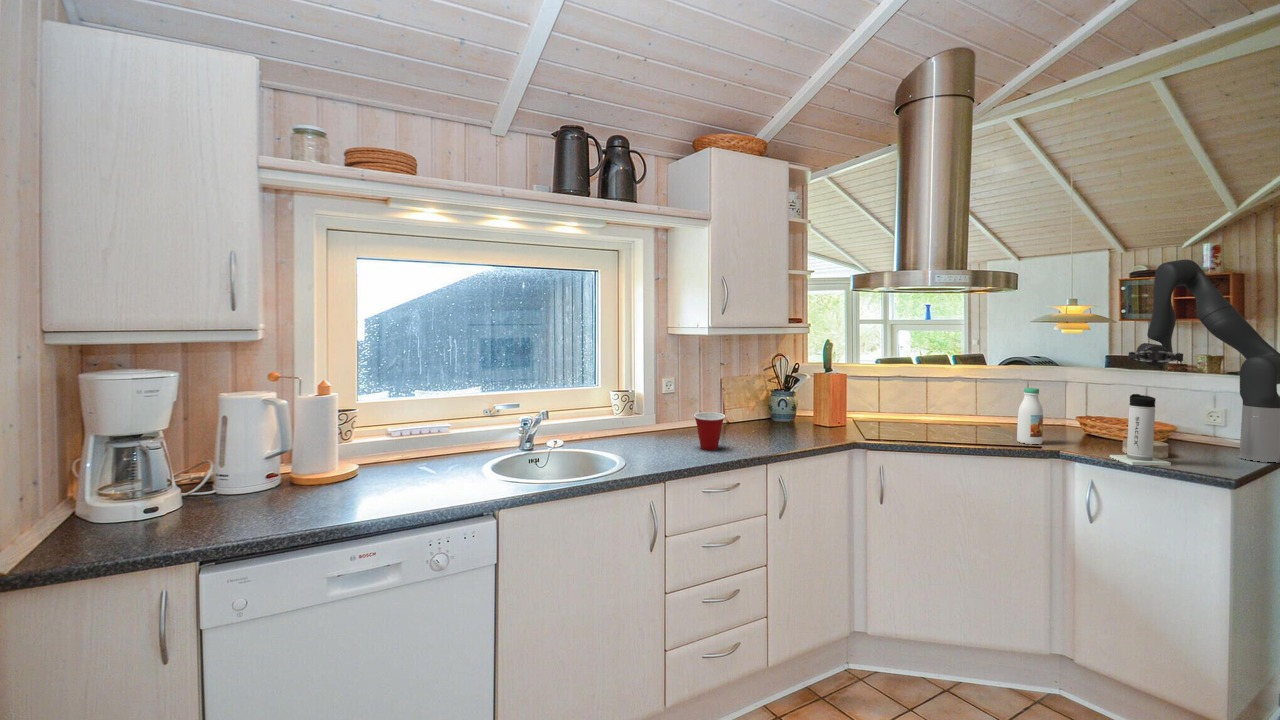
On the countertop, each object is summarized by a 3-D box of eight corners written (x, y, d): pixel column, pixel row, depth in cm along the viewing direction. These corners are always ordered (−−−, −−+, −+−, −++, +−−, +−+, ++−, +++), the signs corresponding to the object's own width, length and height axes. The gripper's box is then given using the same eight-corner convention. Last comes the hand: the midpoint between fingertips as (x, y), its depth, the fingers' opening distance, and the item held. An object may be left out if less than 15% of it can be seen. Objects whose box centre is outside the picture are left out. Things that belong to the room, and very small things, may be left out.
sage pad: (1146, 458, 193) (1146, 455, 193) (1170, 465, 184) (1170, 462, 183) (1109, 457, 194) (1109, 454, 194) (1132, 465, 184) (1132, 461, 184)
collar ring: (1150, 450, 205) (1150, 439, 205) (1176, 458, 194) (1177, 446, 194) (1114, 450, 206) (1115, 438, 206) (1139, 457, 195) (1139, 445, 195)
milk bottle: (1020, 444, 216) (1022, 389, 215) (1014, 440, 223) (1016, 386, 222) (1045, 445, 214) (1047, 389, 212) (1037, 441, 221) (1040, 387, 220)
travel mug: (1142, 456, 192) (1145, 394, 191) (1157, 461, 186) (1161, 396, 184) (1121, 455, 193) (1124, 393, 191) (1135, 460, 186) (1139, 396, 185)
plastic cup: (694, 452, 202) (694, 416, 202) (692, 445, 213) (692, 411, 213) (726, 452, 202) (727, 416, 201) (723, 445, 213) (723, 412, 212)
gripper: (1129, 344, 219) (1128, 345, 206) (1182, 345, 210) (1184, 346, 197) (1128, 365, 219) (1127, 367, 207) (1181, 366, 210) (1183, 369, 198)
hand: (1155, 357), depth 202 cm, fingers open, 8 cm apart
